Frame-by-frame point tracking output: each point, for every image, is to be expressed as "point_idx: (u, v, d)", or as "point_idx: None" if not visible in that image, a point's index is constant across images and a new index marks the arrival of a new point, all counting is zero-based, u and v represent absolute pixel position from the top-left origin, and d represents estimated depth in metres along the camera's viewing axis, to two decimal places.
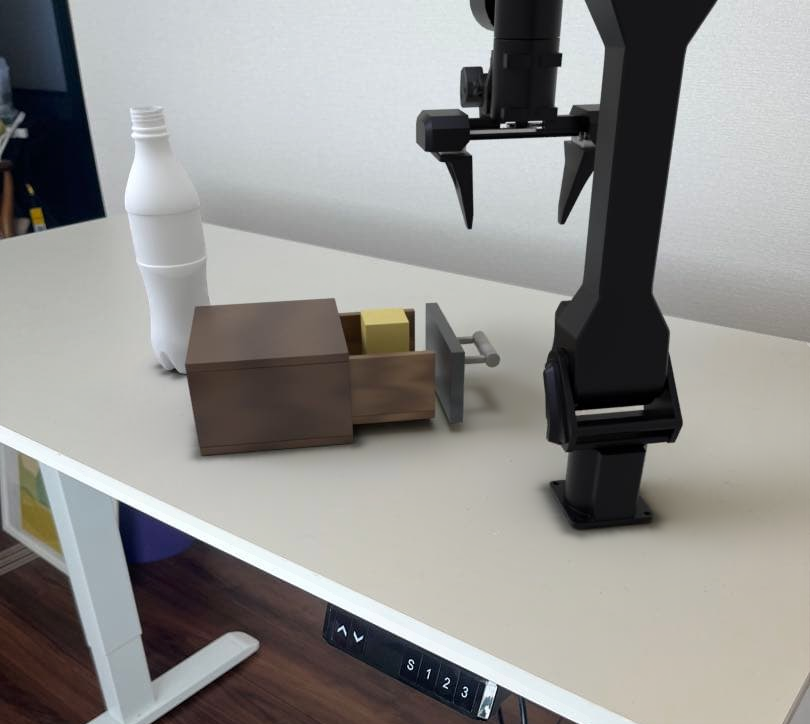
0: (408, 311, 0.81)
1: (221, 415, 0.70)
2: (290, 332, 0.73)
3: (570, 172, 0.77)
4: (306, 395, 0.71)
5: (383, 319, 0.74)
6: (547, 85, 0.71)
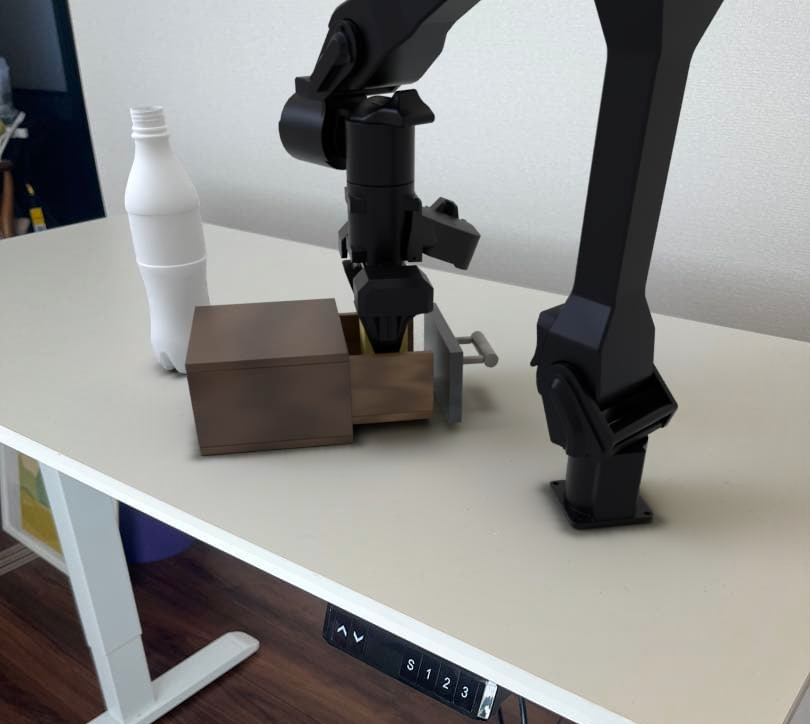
0: None
1: (221, 415, 0.70)
2: (290, 332, 0.73)
3: None
4: (306, 395, 0.71)
5: None
6: (354, 227, 0.69)
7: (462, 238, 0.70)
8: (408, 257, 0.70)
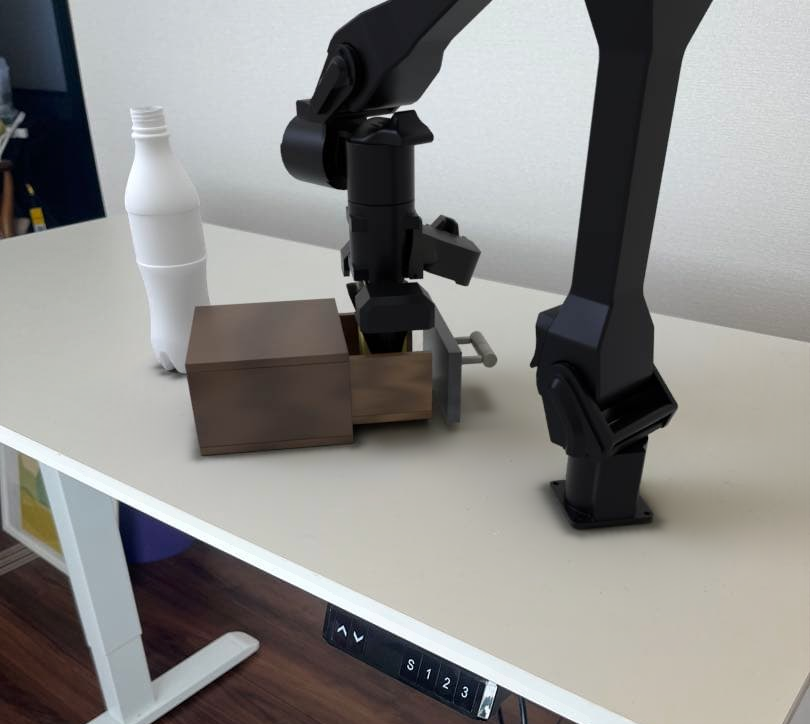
0: None
1: (221, 415, 0.70)
2: (290, 332, 0.73)
3: None
4: (306, 395, 0.71)
5: None
6: (355, 246, 0.70)
7: (463, 255, 0.71)
8: (409, 274, 0.70)
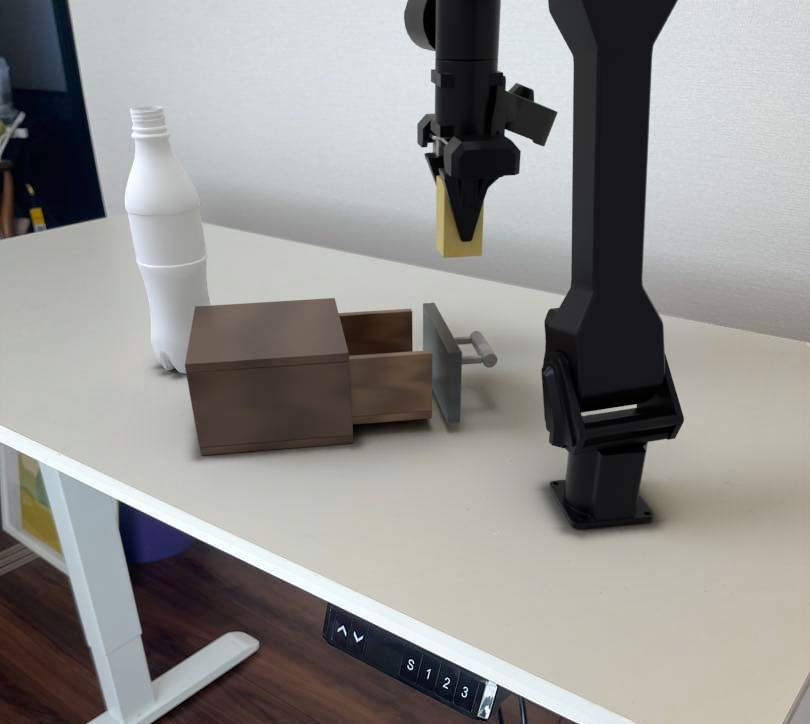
0: (406, 311, 0.81)
1: (221, 415, 0.70)
2: (290, 332, 0.73)
3: None
4: (306, 395, 0.71)
5: None
6: (442, 103, 0.75)
7: (541, 113, 0.76)
8: (492, 131, 0.75)
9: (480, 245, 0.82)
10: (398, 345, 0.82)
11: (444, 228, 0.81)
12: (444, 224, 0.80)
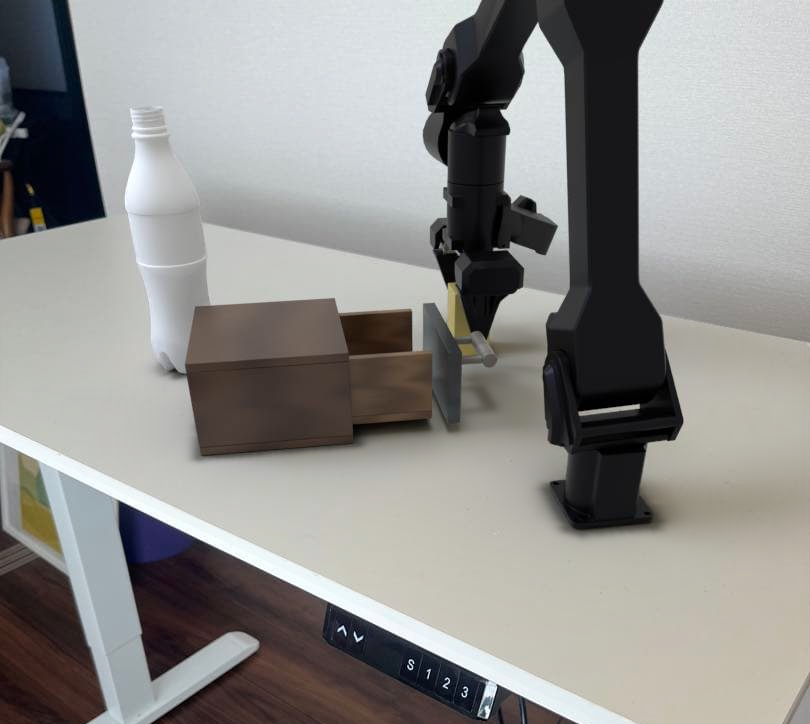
0: (406, 311, 0.81)
1: (221, 415, 0.70)
2: (290, 332, 0.73)
3: None
4: (306, 395, 0.71)
5: None
6: (453, 220, 0.83)
7: (543, 228, 0.83)
8: (498, 244, 0.83)
9: None
10: (398, 345, 0.82)
11: (455, 331, 0.89)
12: (455, 328, 0.88)
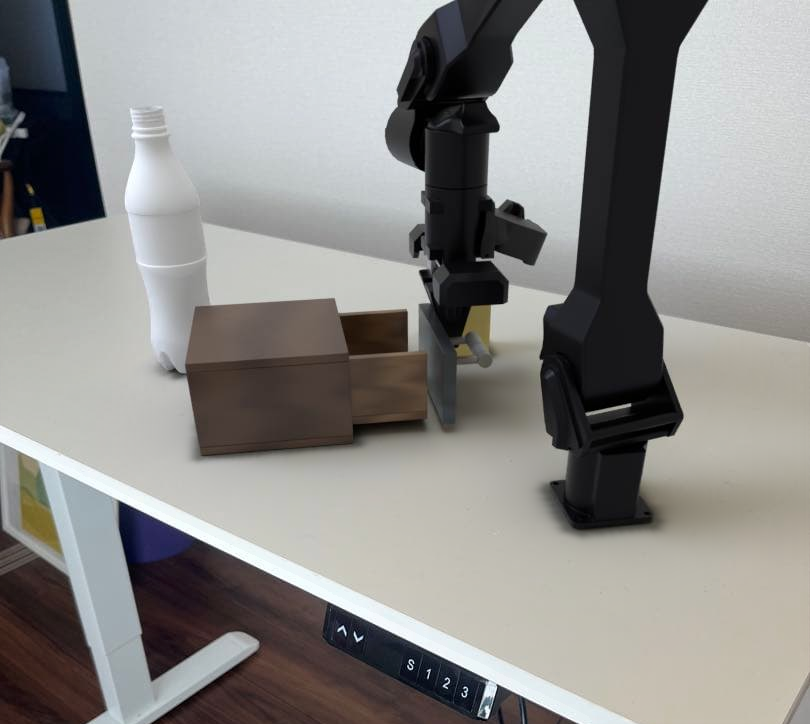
0: (401, 312, 0.81)
1: (221, 415, 0.70)
2: (290, 332, 0.73)
3: None
4: (306, 395, 0.71)
5: None
6: (431, 227, 0.75)
7: (531, 236, 0.76)
8: (481, 254, 0.75)
9: (487, 345, 0.90)
10: (394, 345, 0.82)
11: None
12: None
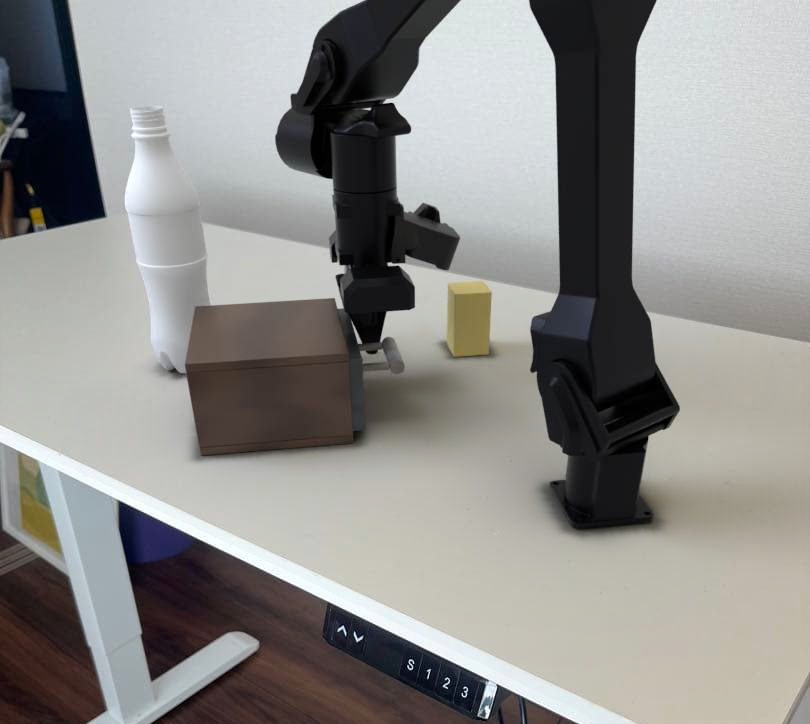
0: None
1: (221, 415, 0.70)
2: (290, 332, 0.73)
3: None
4: (306, 395, 0.71)
5: (469, 290, 0.87)
6: (341, 232, 0.74)
7: (442, 240, 0.75)
8: (392, 259, 0.74)
9: (487, 345, 0.90)
10: None
11: (454, 331, 0.89)
12: (455, 328, 0.88)
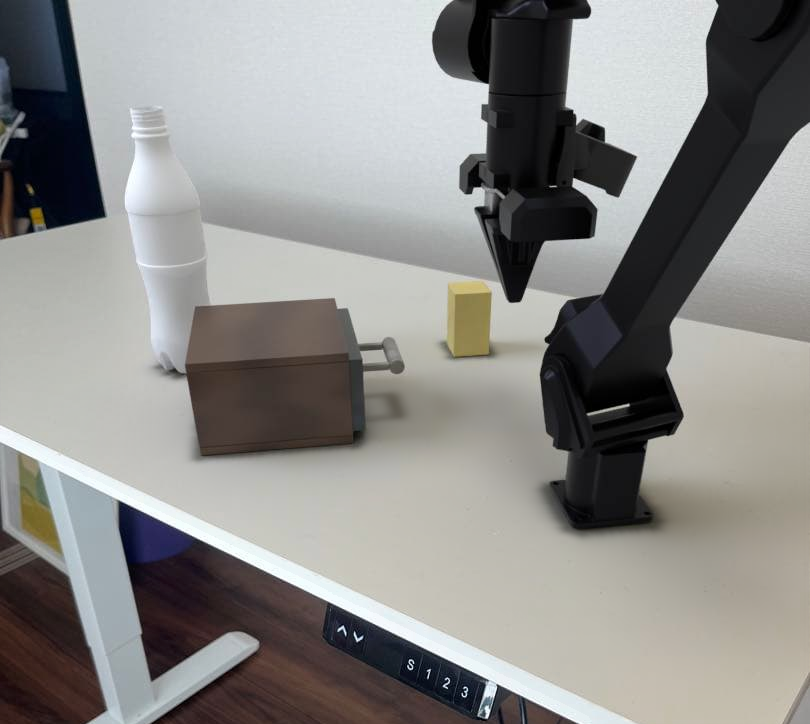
0: None
1: (221, 415, 0.70)
2: (290, 332, 0.73)
3: None
4: (306, 395, 0.71)
5: (469, 290, 0.87)
6: (496, 147, 0.61)
7: (618, 159, 0.61)
8: (557, 181, 0.61)
9: (487, 345, 0.90)
10: None
11: (454, 331, 0.89)
12: (455, 328, 0.88)
